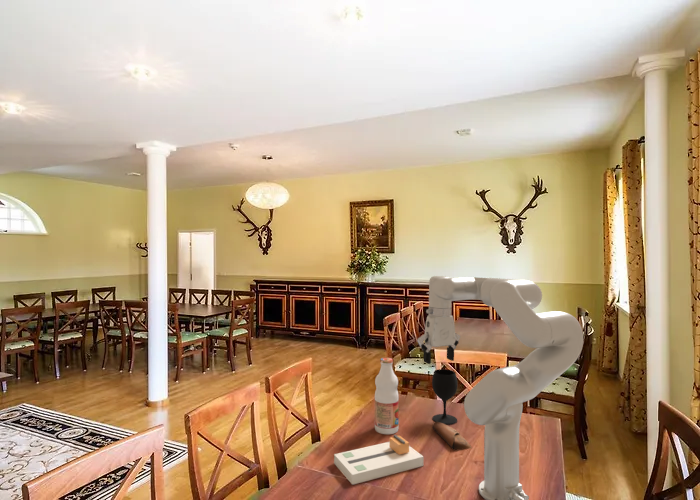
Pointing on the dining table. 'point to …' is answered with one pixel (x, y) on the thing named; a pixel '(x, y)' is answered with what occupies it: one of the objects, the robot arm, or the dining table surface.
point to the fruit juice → (386, 399)
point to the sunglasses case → (451, 436)
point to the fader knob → (399, 444)
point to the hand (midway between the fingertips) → (438, 361)
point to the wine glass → (444, 392)
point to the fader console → (375, 462)
